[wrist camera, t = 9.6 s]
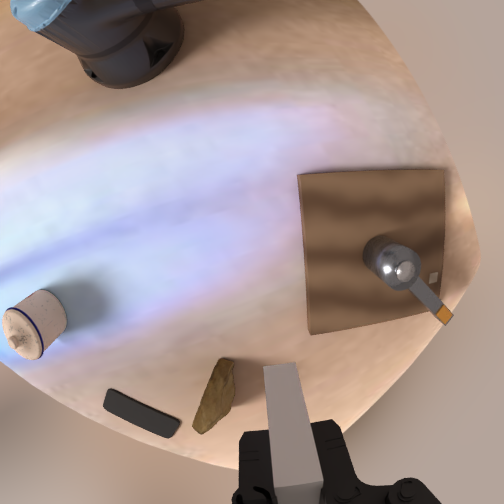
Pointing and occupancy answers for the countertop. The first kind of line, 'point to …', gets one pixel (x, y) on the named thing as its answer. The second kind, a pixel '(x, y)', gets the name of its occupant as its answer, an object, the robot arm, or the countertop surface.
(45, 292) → the cream lidded jar
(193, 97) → the countertop surface
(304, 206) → the base board
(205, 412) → the rock
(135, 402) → the phone
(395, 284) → the grey mallet
